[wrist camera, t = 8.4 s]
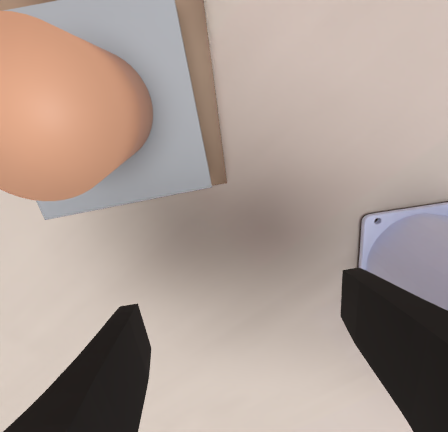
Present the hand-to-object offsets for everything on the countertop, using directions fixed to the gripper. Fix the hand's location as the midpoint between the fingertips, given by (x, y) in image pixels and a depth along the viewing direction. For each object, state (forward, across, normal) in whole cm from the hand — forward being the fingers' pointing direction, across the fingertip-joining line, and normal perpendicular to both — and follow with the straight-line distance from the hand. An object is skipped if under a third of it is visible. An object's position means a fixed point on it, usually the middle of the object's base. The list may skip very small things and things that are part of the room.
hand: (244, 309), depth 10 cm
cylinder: (+5, +5, -7) cm, 10 cm away
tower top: (+8, +5, -7) cm, 12 cm away
